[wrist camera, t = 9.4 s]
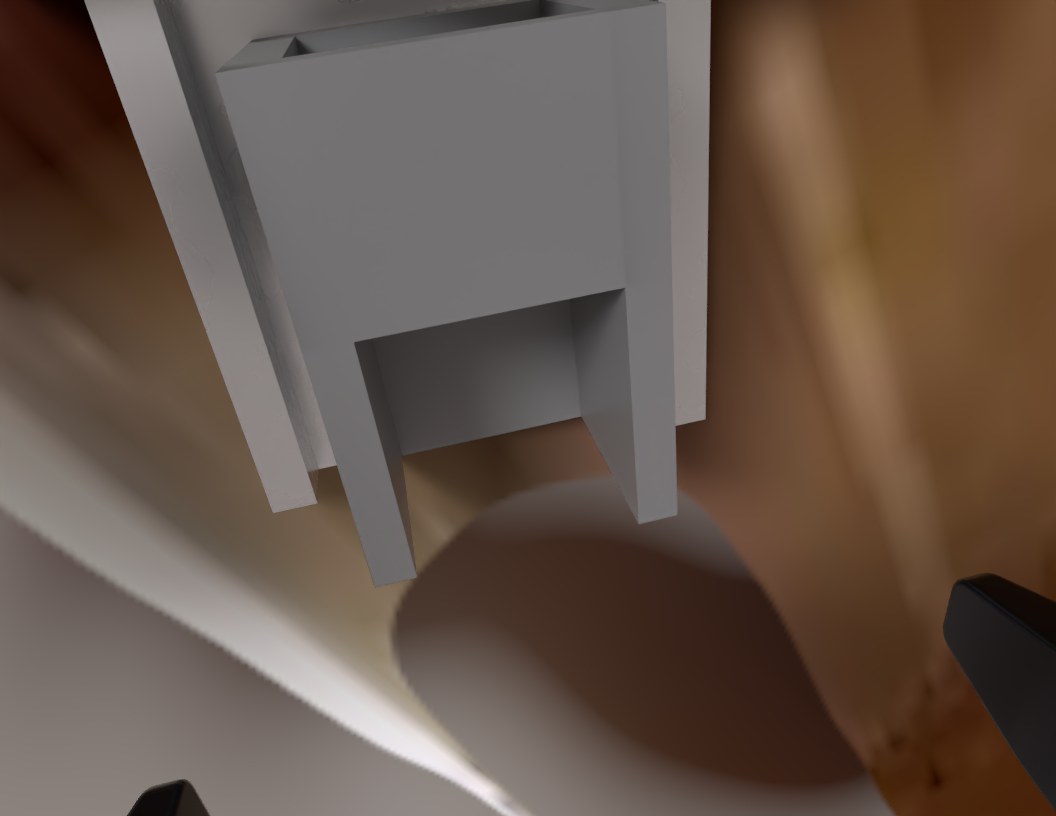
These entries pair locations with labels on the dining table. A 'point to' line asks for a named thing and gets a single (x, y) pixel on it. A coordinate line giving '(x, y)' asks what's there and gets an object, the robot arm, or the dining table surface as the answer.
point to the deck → (236, 230)
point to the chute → (471, 236)
